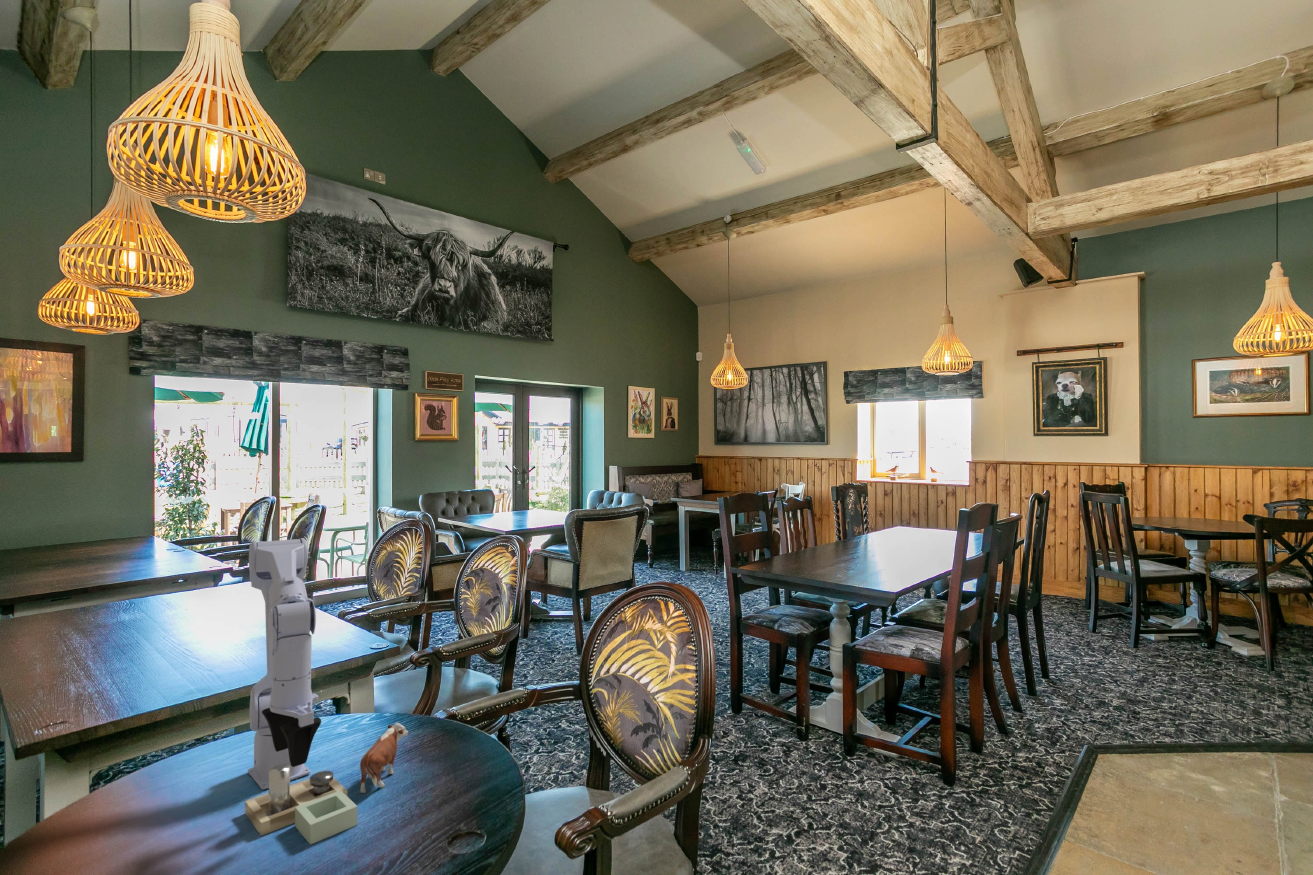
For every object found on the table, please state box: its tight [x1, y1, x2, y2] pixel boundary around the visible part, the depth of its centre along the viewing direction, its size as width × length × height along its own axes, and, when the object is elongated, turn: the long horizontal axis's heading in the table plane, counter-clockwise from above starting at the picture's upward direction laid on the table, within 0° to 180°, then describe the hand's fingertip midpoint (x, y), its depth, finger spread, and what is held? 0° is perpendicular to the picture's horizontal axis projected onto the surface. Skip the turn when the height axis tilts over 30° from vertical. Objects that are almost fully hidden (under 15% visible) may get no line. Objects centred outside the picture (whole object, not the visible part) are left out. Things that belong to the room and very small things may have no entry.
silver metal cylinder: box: [267, 764, 291, 816], centre depth 104 cm, size 3×3×8 cm
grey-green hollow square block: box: [294, 790, 358, 845], centre depth 102 cm, size 7×7×3 cm
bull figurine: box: [359, 722, 409, 794], centre depth 117 cm, size 4×13×8 cm, turn 174°
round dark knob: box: [309, 770, 334, 797], centre depth 109 cm, size 4×4×4 cm
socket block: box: [244, 776, 348, 836], centre depth 107 cm, size 9×13×2 cm
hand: (290, 756), depth 105 cm, fingers open, 7 cm apart
